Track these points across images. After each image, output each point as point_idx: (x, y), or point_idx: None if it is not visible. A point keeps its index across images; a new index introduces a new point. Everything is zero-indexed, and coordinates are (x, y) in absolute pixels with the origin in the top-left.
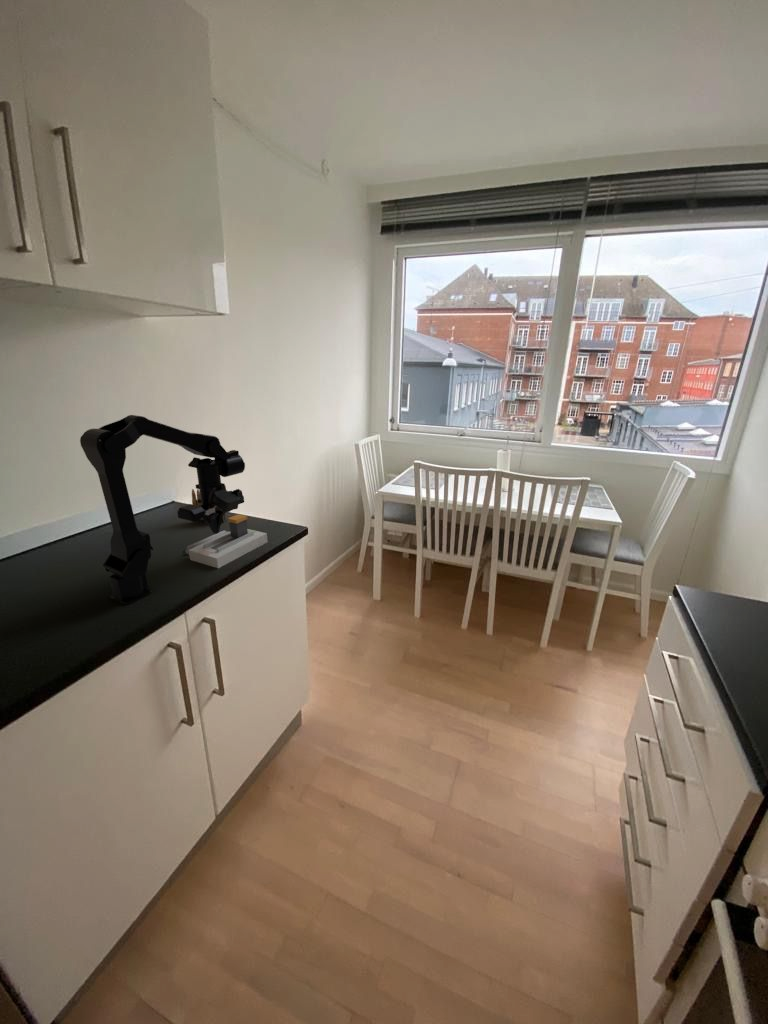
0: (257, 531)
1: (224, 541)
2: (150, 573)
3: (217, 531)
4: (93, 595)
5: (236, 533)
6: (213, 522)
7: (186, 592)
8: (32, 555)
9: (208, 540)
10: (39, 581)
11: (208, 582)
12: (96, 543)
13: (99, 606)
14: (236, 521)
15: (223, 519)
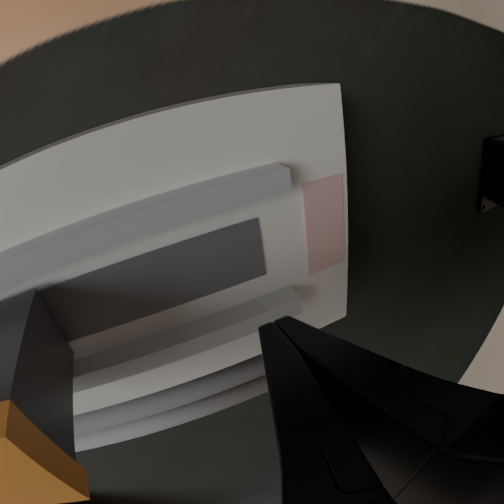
0: None
1: (139, 316)
2: (428, 263)
3: (285, 332)
4: (499, 236)
5: (35, 329)
6: (444, 382)
7: (453, 43)
8: None
9: (172, 406)
10: (470, 347)
11: (393, 18)
12: None
13: None
14: (5, 423)
15: None
